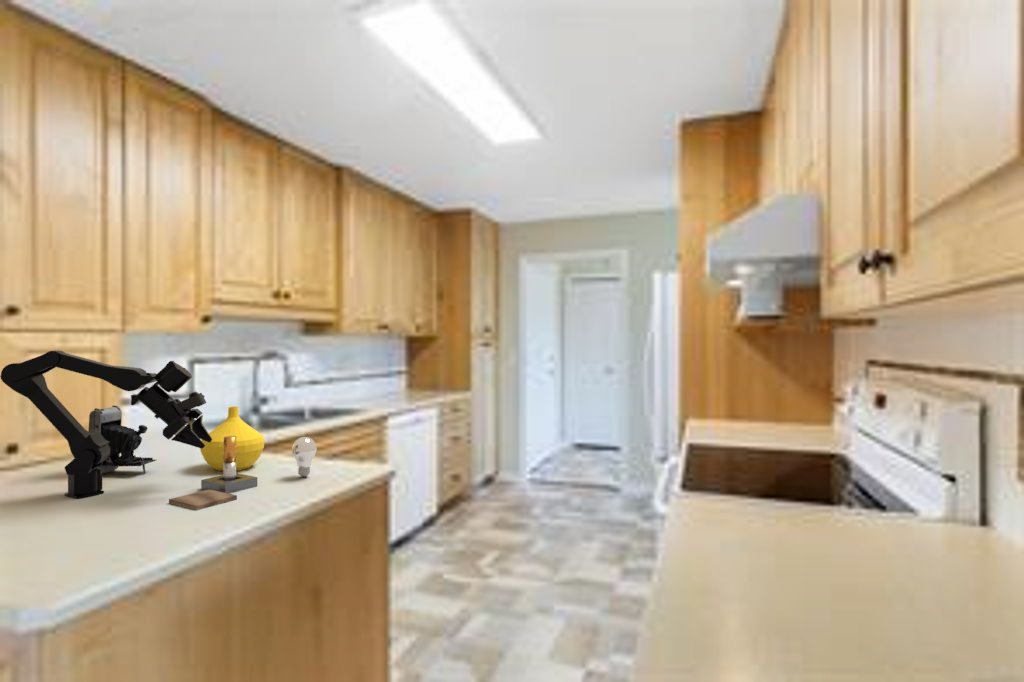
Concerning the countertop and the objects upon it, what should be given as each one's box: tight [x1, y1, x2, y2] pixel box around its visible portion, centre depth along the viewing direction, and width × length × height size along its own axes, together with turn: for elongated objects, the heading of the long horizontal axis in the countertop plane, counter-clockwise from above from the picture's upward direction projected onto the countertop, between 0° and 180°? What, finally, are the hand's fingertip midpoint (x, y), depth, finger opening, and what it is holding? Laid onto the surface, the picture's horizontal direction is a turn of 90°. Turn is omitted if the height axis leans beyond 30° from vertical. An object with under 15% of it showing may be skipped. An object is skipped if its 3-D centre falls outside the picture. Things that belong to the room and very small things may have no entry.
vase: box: [199, 406, 265, 472], centre depth 189 cm, size 18×18×19 cm
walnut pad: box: [168, 490, 238, 511], centre depth 152 cm, size 11×11×1 cm
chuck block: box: [200, 472, 258, 494], centre depth 166 cm, size 10×10×2 cm
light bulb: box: [291, 436, 318, 478], centre depth 179 cm, size 7×7×12 cm
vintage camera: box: [87, 405, 157, 475], centre depth 179 cm, size 10×15×20 cm, turn 89°
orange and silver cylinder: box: [222, 436, 237, 481], centre depth 166 cm, size 3×3×14 cm
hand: (207, 444), depth 164 cm, fingers open, 9 cm apart
